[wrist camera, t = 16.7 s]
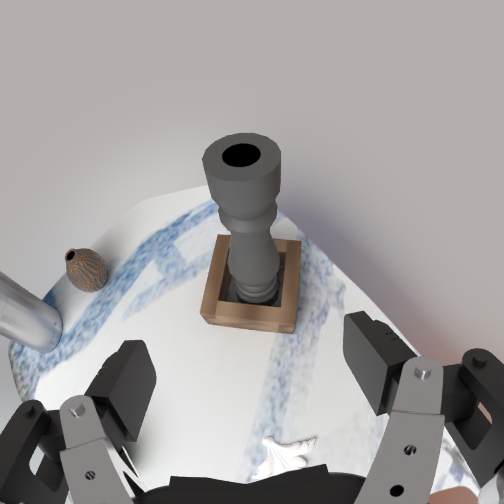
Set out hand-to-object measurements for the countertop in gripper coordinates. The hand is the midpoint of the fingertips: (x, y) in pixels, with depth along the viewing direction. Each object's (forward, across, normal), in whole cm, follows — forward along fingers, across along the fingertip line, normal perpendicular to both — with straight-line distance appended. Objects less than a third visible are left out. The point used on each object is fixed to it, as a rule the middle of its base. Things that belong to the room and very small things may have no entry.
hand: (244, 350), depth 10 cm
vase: (+33, +26, +6) cm, 43 cm away
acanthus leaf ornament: (+12, -2, +28) cm, 30 cm away
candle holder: (+29, -1, +10) cm, 30 cm away
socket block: (+29, -1, +9) cm, 30 cm away
